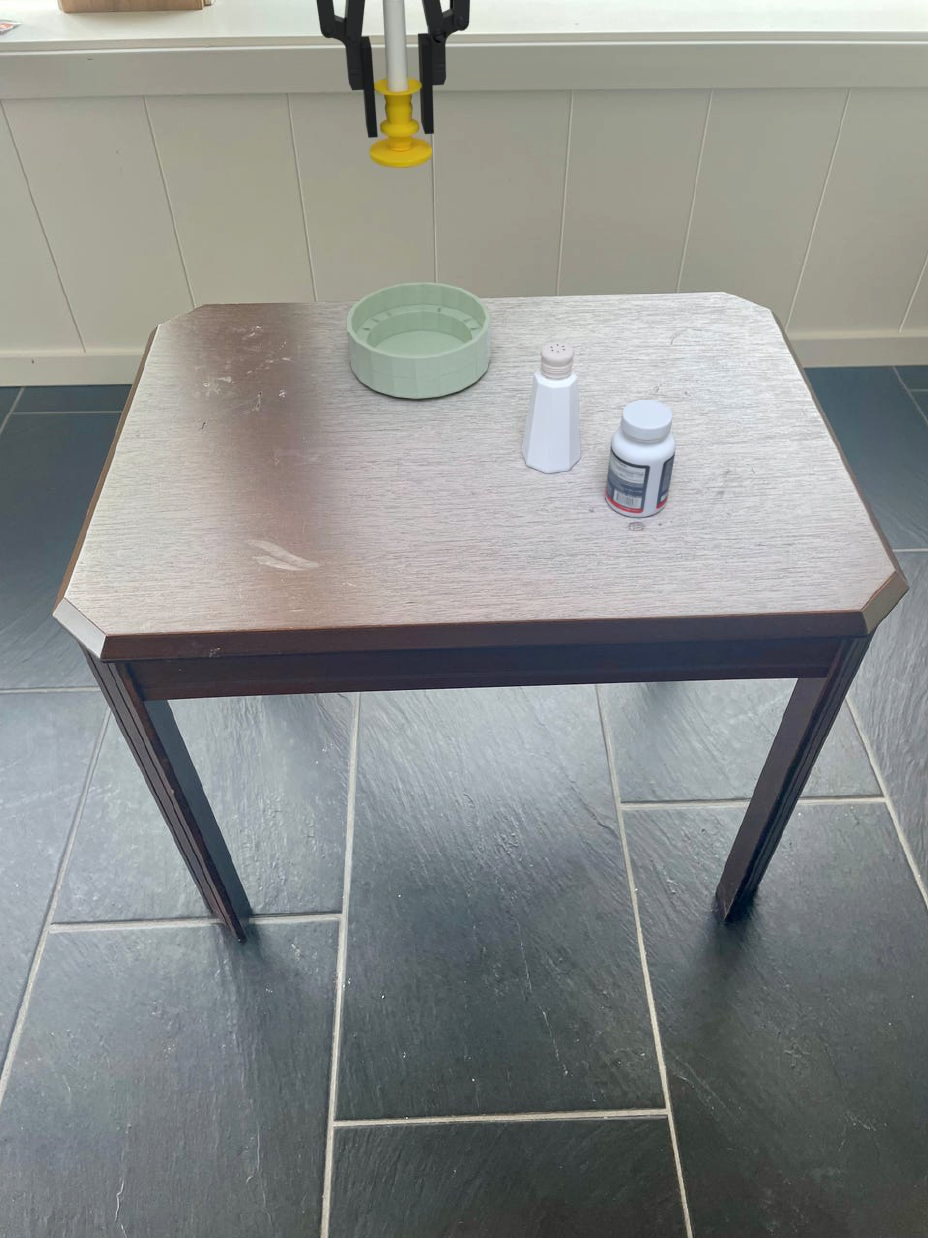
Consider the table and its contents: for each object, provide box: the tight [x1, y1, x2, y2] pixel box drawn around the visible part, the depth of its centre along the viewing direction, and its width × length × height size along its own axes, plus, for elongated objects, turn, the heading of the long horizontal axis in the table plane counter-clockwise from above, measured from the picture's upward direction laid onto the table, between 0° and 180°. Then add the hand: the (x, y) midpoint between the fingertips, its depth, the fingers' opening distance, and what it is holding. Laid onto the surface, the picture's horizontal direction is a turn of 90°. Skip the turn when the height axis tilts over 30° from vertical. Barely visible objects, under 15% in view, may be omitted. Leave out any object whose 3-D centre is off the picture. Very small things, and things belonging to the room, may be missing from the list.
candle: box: [369, 0, 433, 169], centre depth 75 cm, size 5×5×16 cm
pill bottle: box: [605, 399, 677, 518], centre depth 80 cm, size 5×5×9 cm
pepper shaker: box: [520, 340, 582, 475], centre depth 83 cm, size 5×5×11 cm
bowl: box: [345, 281, 492, 400], centre depth 96 cm, size 14×14×5 cm
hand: (399, 128), depth 79 cm, fingers closed on candle, 4 cm apart
